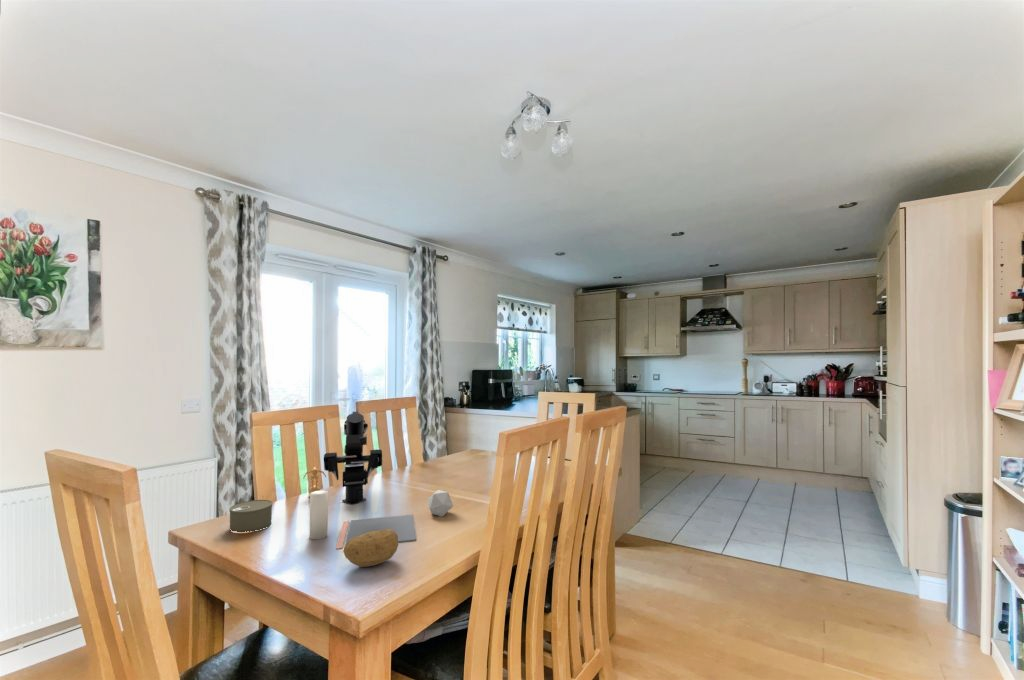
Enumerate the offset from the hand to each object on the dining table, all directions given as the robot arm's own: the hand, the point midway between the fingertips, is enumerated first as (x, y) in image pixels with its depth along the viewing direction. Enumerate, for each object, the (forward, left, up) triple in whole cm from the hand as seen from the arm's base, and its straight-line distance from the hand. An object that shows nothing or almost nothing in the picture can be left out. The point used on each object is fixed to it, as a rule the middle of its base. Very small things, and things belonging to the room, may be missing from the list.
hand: (352, 477), depth 146 cm
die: (+17, +23, -15) cm, 33 cm away
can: (-25, -20, -15) cm, 35 cm away
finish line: (+5, -7, -15) cm, 17 cm away
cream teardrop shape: (0, -12, -15) cm, 19 cm away
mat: (+12, +2, -15) cm, 19 cm away
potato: (+29, -15, -15) cm, 36 cm away
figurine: (-38, +10, -15) cm, 43 cm away
